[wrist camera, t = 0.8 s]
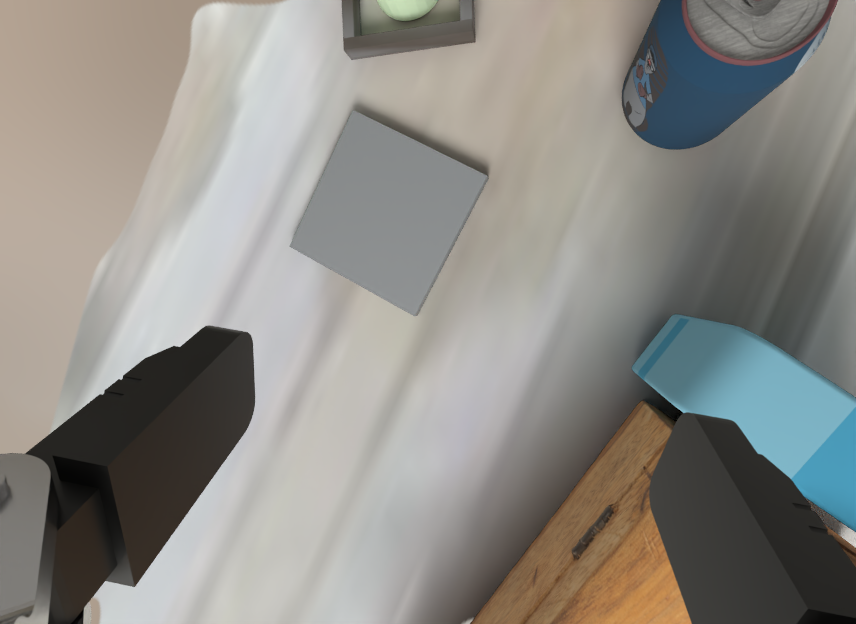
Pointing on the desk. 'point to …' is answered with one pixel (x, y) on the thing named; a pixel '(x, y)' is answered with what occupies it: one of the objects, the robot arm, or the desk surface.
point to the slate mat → (387, 212)
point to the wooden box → (603, 545)
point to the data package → (762, 403)
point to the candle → (406, 8)
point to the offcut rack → (404, 33)
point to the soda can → (715, 63)
